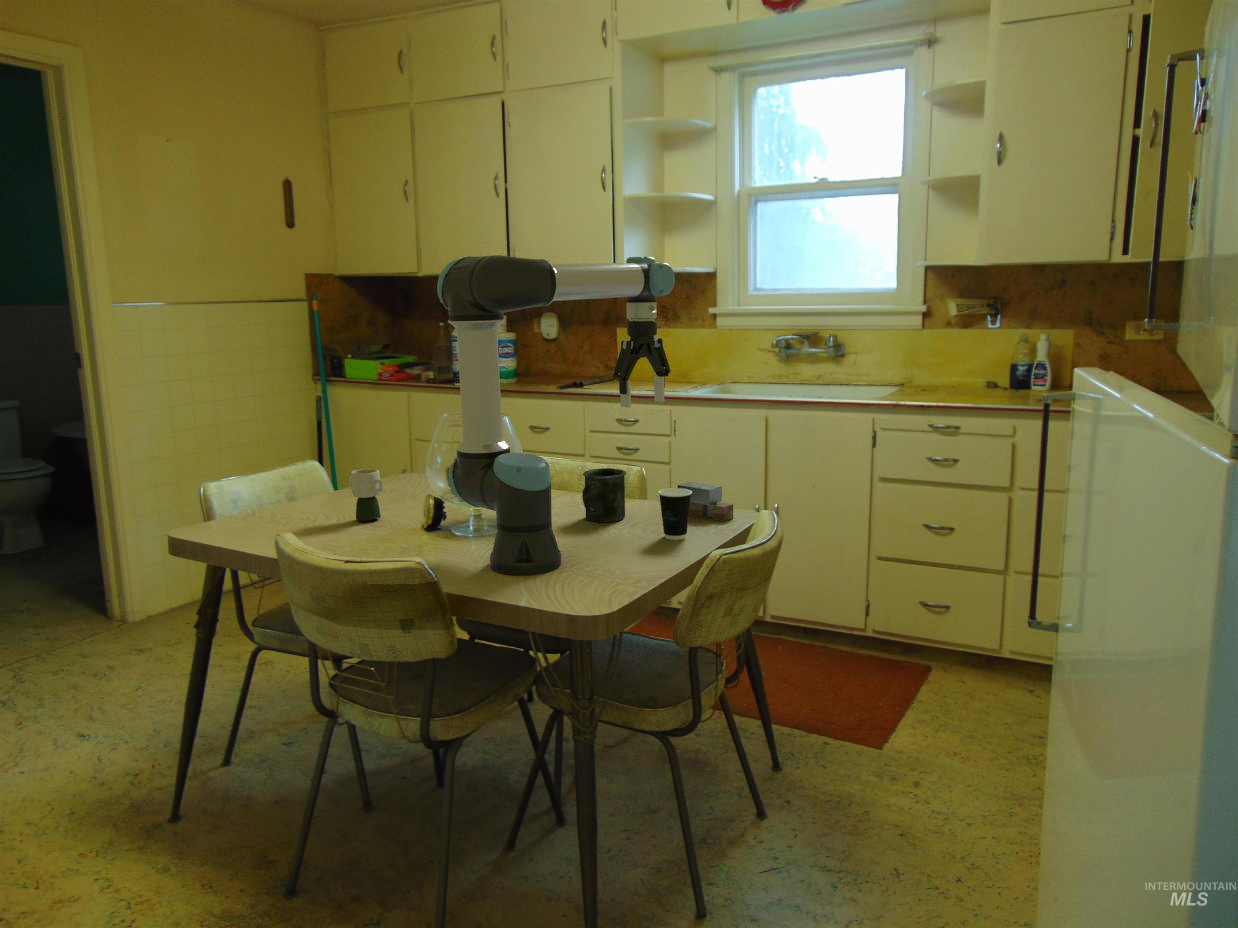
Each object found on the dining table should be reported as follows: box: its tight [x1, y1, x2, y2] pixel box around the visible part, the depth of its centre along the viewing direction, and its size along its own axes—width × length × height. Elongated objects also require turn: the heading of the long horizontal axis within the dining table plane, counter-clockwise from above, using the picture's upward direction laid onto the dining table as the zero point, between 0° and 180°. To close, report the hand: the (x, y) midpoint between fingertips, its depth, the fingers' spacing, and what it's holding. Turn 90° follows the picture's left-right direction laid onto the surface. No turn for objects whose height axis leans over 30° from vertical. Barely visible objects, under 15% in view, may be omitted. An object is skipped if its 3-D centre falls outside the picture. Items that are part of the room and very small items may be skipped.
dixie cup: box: [657, 487, 692, 541], centre depth 210 cm, size 8×8×11 cm
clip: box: [677, 481, 723, 518], centre depth 231 cm, size 10×6×8 cm, turn 49°
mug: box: [581, 467, 627, 523], centre depth 227 cm, size 11×15×12 cm
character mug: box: [348, 468, 384, 522], centre depth 231 cm, size 11×7×13 cm, turn 64°
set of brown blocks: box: [689, 501, 734, 522], centre depth 231 cm, size 4×18×4 cm, turn 49°
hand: (642, 404), depth 228 cm, fingers open, 13 cm apart
